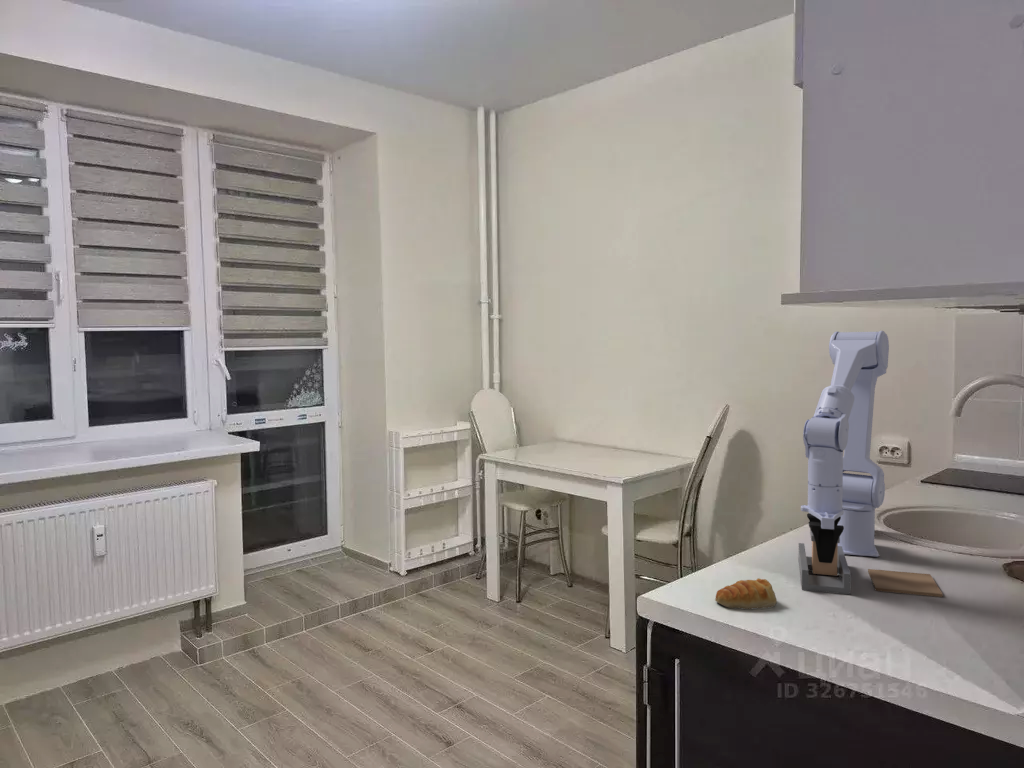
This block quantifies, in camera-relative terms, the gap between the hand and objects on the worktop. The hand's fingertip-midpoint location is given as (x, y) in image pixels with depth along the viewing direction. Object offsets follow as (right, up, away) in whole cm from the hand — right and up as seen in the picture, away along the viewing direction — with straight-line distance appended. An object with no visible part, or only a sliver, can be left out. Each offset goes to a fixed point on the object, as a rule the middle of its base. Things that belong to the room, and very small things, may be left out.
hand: (824, 557), depth 128 cm
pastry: (-17, -5, -11) cm, 21 cm away
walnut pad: (+12, -4, -4) cm, 13 cm away
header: (0, -4, 0) cm, 4 cm away
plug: (0, -2, 0) cm, 2 cm away
